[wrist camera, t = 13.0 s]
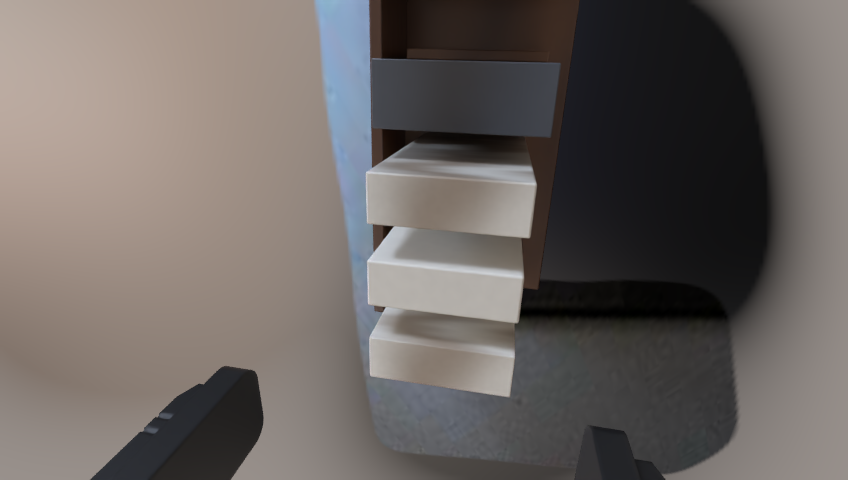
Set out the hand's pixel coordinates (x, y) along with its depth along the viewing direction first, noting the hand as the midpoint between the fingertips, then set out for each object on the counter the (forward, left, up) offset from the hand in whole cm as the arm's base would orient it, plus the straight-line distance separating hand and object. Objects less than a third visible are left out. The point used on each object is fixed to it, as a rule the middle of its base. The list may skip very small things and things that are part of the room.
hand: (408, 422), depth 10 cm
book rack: (0, -5, -19) cm, 20 cm away
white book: (0, 0, -19) cm, 19 cm away
